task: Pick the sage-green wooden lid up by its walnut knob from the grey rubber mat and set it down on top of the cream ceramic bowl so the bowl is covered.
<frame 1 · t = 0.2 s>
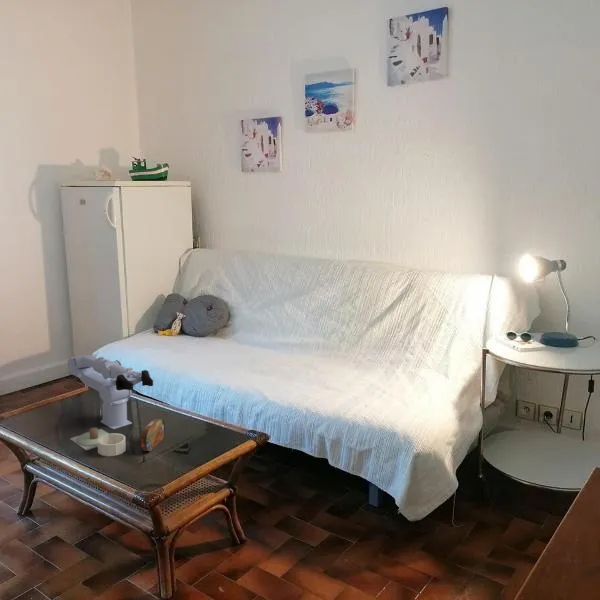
hand: (142, 385, 205), 21 cm above the table, tool horizontal, fingers open, 7 cm apart
tin: (152, 446, 207), on the table
mat: (94, 440, 209), on the table
lid: (94, 439, 209), resting on mat
bowl: (112, 451, 202), on the table
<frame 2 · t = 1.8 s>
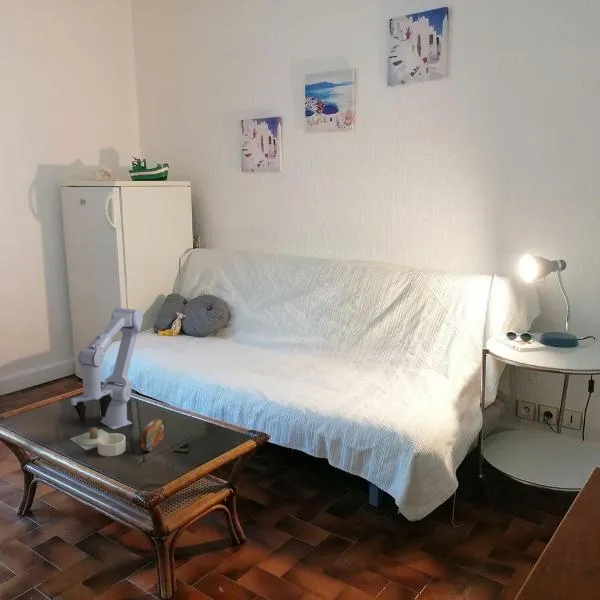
hand: (93, 419, 207), 8 cm above the table, tool pointing down, fingers open, 7 cm apart
nothing on the table moved.
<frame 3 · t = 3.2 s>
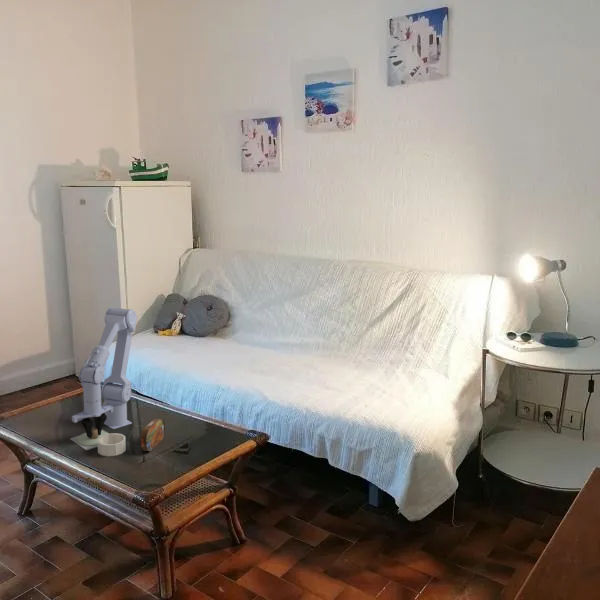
hand: (93, 435, 209), 2 cm above the table, tool pointing down, fingers closed on lid, 3 cm apart
lid: (94, 439, 209), resting on mat, touching gripper
everything else where it was.
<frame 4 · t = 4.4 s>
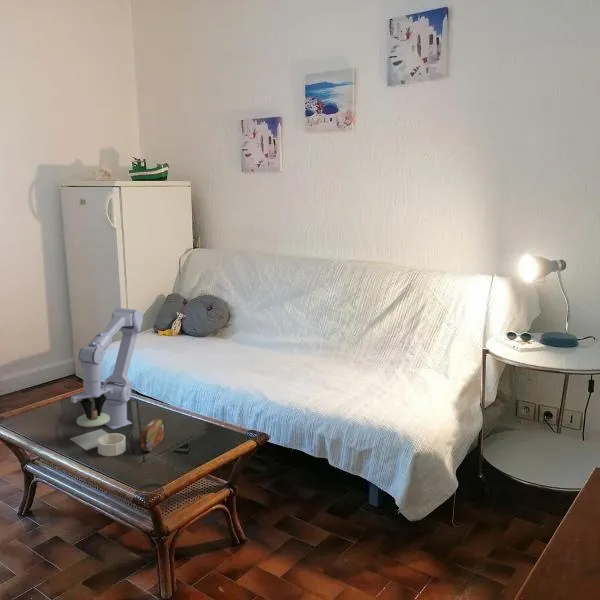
hand: (93, 416, 207), 9 cm above the table, tool pointing down, fingers closed on lid, 3 cm apart
lid: (93, 420, 207), point 8 cm above the table, touching gripper
everything else where it was.
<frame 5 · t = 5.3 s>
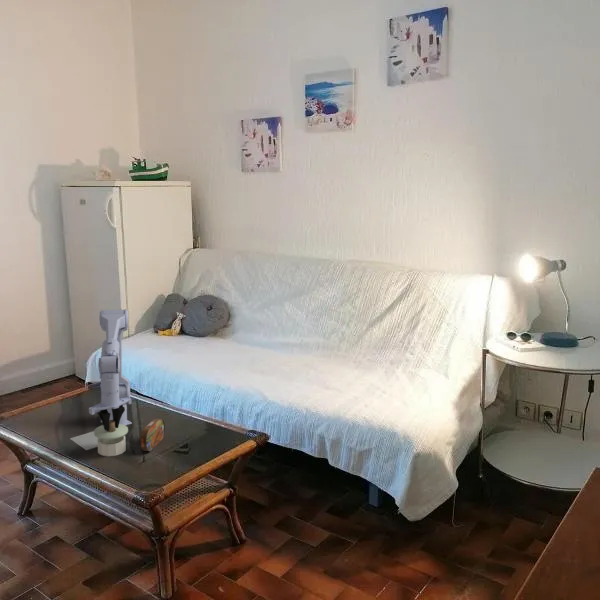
hand: (111, 428, 200), 8 cm above the table, tool pointing down, fingers closed on lid, 3 cm apart
lid: (111, 432, 200), point 7 cm above the table, touching gripper
everything else where it was.
when the fingers open (7 cm above the table, at t = 5.7 s): lid drops 2 cm, resting on bowl.
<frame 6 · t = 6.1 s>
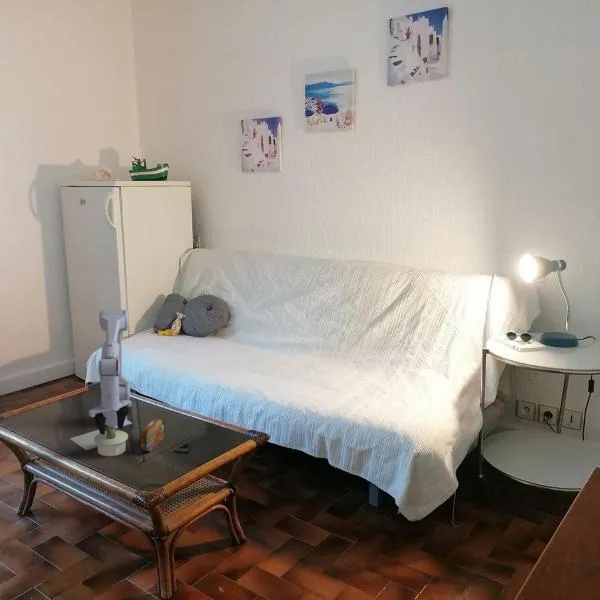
hand: (111, 430, 200), 7 cm above the table, tool pointing down, fingers open, 6 cm apart
lid: (111, 438, 201), point 4 cm above the table, touching bowl
bowl: (112, 451, 202), on the table, touching lid
everything else where it was.
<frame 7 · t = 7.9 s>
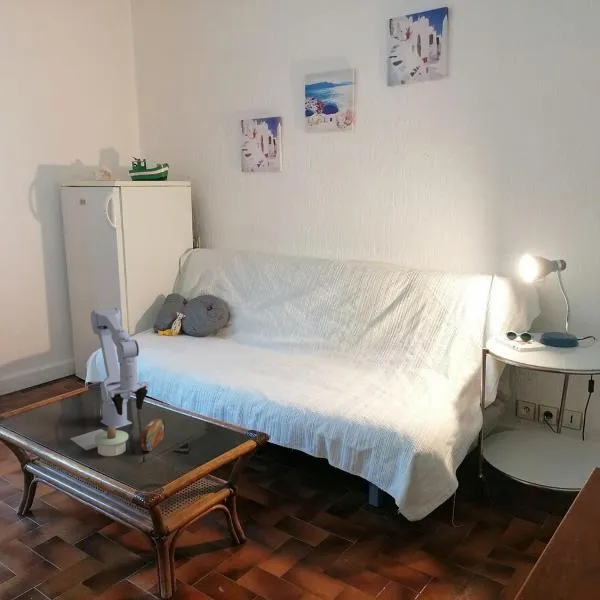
hand: (129, 411, 209), 10 cm above the table, tool pointing down, fingers open, 7 cm apart
nothing on the table moved.
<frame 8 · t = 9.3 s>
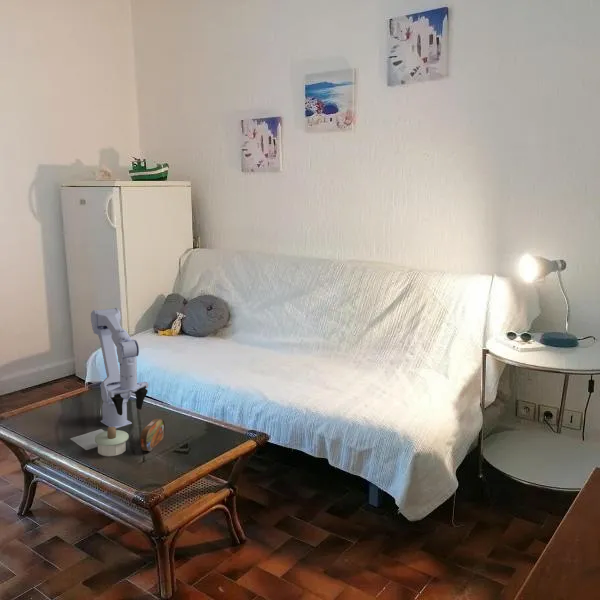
hand: (129, 411, 209), 10 cm above the table, tool pointing down, fingers open, 7 cm apart
nothing on the table moved.
at the end: lid 0.3 cm off-centre on the bowl, point 4.5 cm above the bowl's base; lid tilted 0°; the gripper is holding nothing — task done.
